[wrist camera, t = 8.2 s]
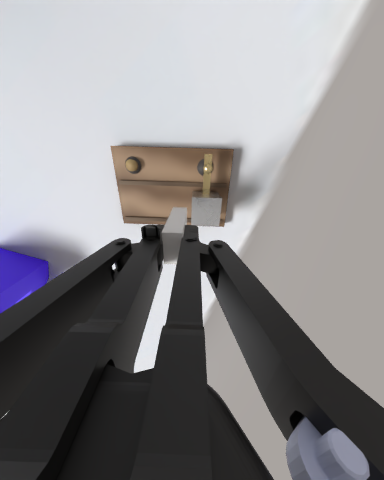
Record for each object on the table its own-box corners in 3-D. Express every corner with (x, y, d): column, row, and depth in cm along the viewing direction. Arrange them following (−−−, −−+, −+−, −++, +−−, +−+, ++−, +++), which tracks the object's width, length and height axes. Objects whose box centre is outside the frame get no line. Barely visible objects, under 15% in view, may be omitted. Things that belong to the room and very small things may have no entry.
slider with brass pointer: (193, 154, 23) (193, 152, 19) (221, 155, 23) (227, 153, 19) (192, 215, 27) (191, 225, 23) (215, 216, 27) (219, 226, 23)
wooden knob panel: (115, 146, 25) (107, 145, 22) (231, 150, 24) (235, 148, 22) (127, 220, 30) (121, 225, 28) (222, 223, 30) (225, 228, 27)
